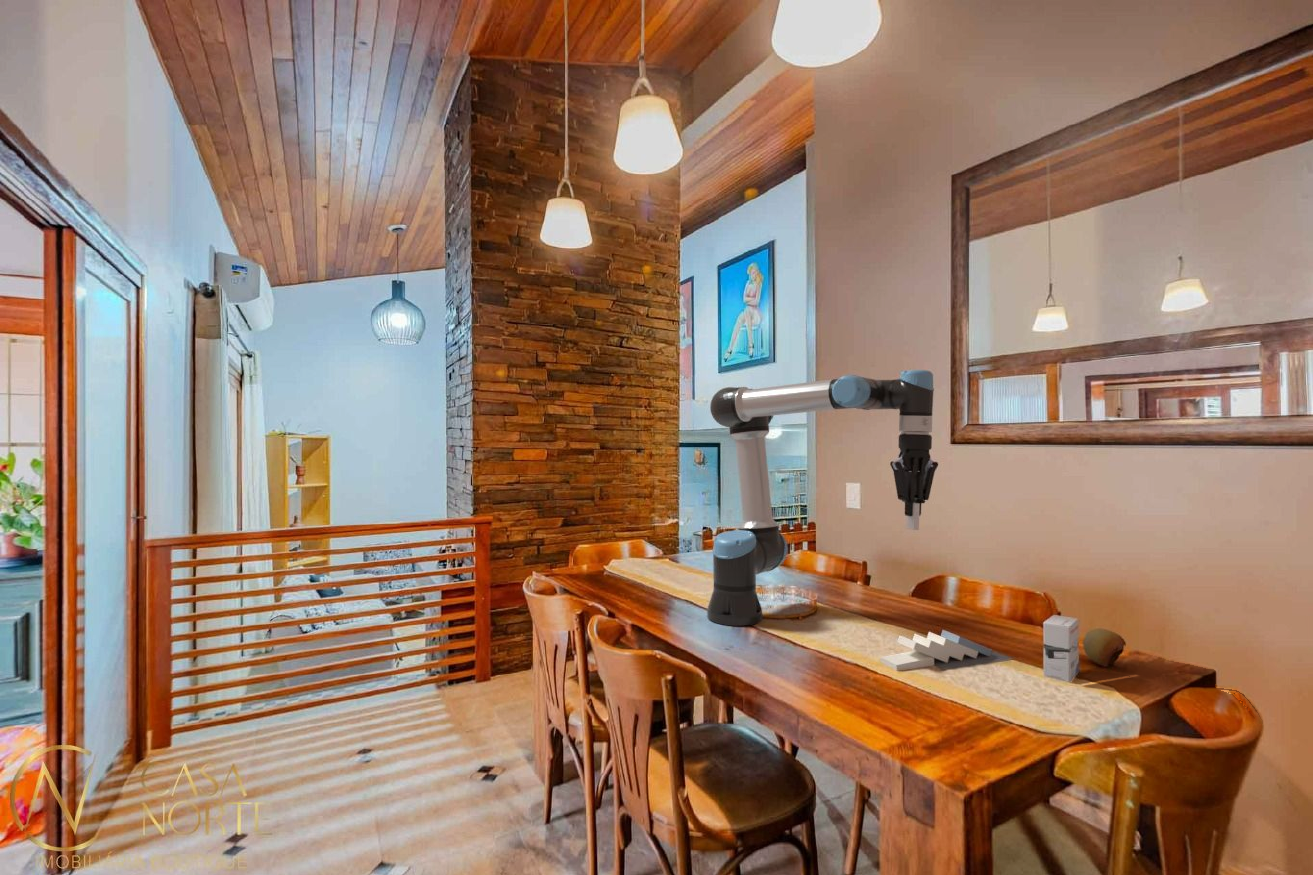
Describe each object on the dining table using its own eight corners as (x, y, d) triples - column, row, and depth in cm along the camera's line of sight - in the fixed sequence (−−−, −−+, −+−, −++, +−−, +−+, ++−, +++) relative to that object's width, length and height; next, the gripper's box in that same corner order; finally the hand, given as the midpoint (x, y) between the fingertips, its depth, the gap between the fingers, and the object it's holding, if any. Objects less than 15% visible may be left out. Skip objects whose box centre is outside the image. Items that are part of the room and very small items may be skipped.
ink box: (1052, 667, 133) (1052, 613, 133) (1080, 673, 129) (1080, 618, 129) (1042, 678, 127) (1042, 621, 127) (1070, 685, 123) (1070, 626, 123)
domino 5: (989, 656, 138) (957, 643, 135) (971, 649, 143) (940, 636, 140) (991, 649, 138) (959, 636, 135) (973, 642, 143) (942, 629, 140)
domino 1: (934, 664, 133) (896, 672, 130) (917, 657, 138) (881, 664, 135) (934, 657, 133) (896, 665, 130) (917, 650, 138) (880, 657, 135)
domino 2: (947, 662, 134) (913, 649, 131) (930, 655, 139) (897, 642, 136) (949, 655, 134) (915, 642, 131) (932, 648, 139) (899, 635, 136)
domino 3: (961, 660, 136) (928, 647, 133) (944, 653, 140) (912, 640, 137) (964, 654, 136) (931, 640, 133) (946, 646, 140) (914, 633, 138)
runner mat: (906, 654, 141) (906, 652, 141) (974, 645, 147) (974, 643, 147) (943, 672, 130) (943, 670, 130) (1014, 661, 137) (1014, 659, 137)
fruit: (1121, 662, 135) (1121, 626, 135) (1129, 675, 128) (1129, 637, 128) (1080, 657, 139) (1080, 622, 139) (1085, 669, 132) (1085, 632, 132)
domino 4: (976, 658, 137) (943, 645, 134) (958, 651, 142) (926, 638, 139) (978, 651, 137) (945, 638, 134) (960, 644, 142) (928, 631, 139)
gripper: (904, 433, 144) (901, 532, 145) (948, 434, 149) (944, 530, 149) (883, 432, 151) (880, 527, 152) (925, 433, 156) (922, 525, 156)
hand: (912, 529), depth 150 cm, fingers closed
